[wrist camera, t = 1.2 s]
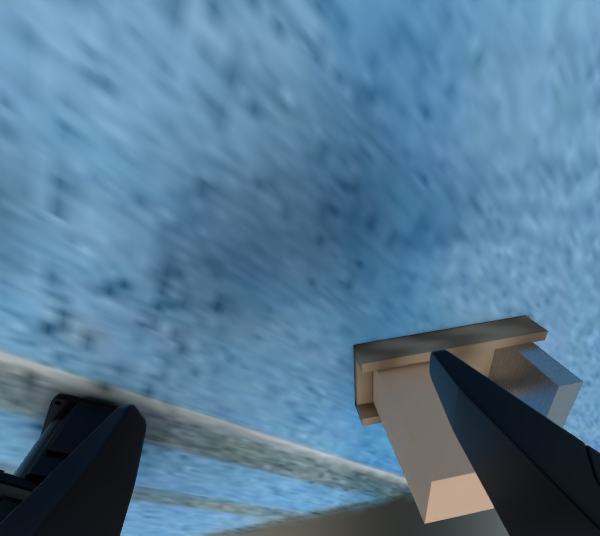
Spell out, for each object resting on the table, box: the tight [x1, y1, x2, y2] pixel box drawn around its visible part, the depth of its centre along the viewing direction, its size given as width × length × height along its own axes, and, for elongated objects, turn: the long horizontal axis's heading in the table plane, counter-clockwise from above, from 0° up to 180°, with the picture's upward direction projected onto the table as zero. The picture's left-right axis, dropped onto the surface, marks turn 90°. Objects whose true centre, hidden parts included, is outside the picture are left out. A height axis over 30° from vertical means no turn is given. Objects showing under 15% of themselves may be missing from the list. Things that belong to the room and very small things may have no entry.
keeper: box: [373, 361, 494, 523], centre depth 24 cm, size 5×5×10 cm
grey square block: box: [488, 342, 583, 428], centre depth 27 cm, size 2×6×7 cm, turn 6°
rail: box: [354, 316, 548, 426], centre depth 28 cm, size 17×8×2 cm, turn 96°
